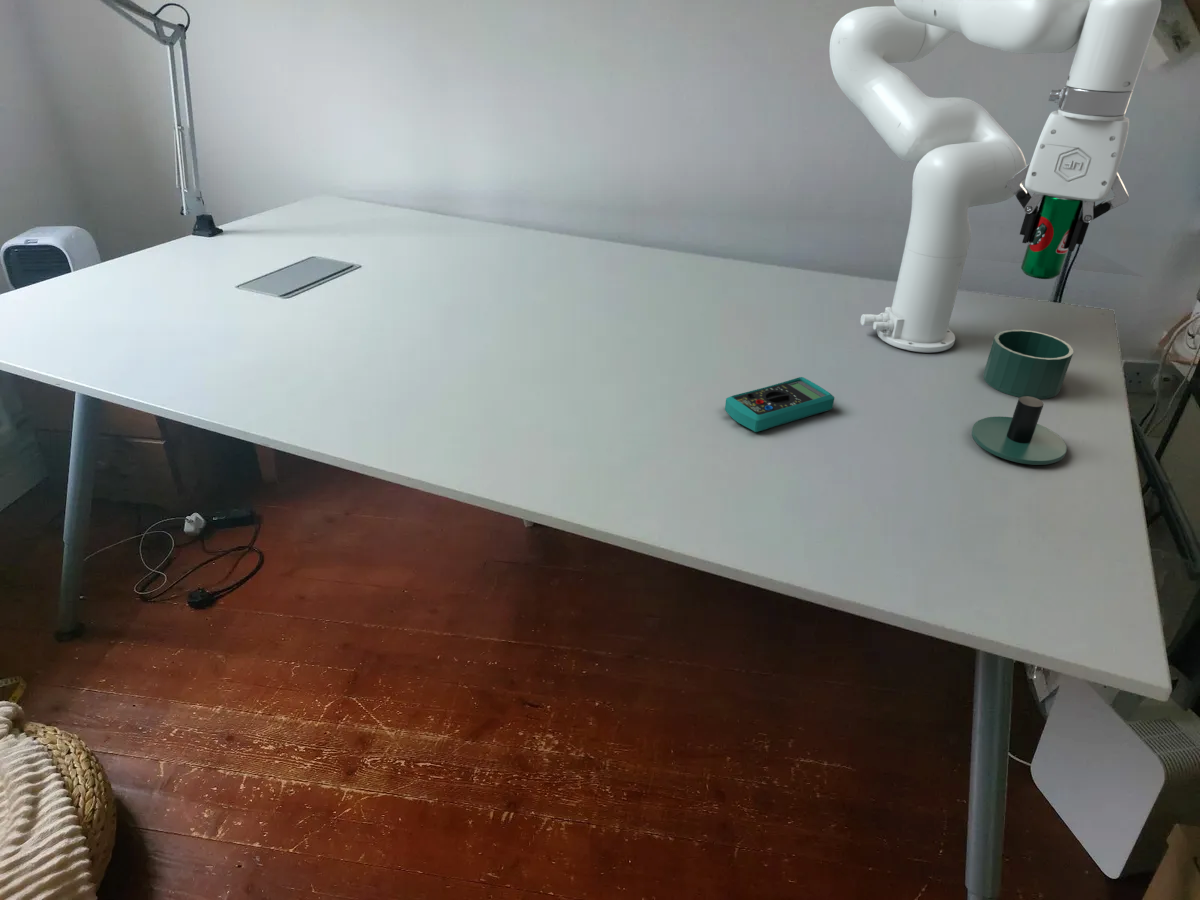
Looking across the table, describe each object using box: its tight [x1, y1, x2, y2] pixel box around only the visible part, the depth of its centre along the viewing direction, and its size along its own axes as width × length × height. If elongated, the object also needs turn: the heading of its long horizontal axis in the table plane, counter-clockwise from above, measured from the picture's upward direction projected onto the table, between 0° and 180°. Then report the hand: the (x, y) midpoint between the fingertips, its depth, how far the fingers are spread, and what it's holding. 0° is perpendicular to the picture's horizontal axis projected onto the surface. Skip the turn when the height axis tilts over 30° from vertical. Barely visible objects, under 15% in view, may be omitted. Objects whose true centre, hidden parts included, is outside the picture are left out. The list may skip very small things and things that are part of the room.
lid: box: [971, 396, 1068, 466], centre depth 106 cm, size 12×12×7 cm
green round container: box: [982, 329, 1075, 400], centre depth 122 cm, size 11×11×6 cm
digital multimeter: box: [724, 376, 835, 433], centre depth 114 cm, size 7×15×3 cm, turn 119°
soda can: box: [1020, 195, 1083, 280], centre depth 110 cm, size 5×5×12 cm
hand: (1049, 243), depth 111 cm, fingers closed on soda can, 5 cm apart
